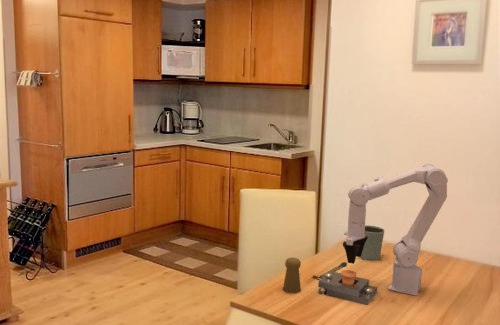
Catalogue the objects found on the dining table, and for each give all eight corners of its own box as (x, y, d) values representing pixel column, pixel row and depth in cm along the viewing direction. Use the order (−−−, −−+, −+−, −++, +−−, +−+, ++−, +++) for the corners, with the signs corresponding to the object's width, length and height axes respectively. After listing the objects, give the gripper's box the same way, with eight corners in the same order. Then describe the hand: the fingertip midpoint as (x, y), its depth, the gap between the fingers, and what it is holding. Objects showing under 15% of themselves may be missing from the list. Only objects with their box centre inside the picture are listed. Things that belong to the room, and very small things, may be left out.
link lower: (377, 292, 171) (377, 284, 170) (367, 304, 161) (368, 295, 161) (337, 283, 178) (338, 275, 177) (326, 294, 168) (326, 286, 168)
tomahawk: (326, 286, 178) (327, 283, 178) (311, 279, 182) (311, 276, 182) (357, 269, 193) (358, 266, 193) (342, 263, 198) (343, 261, 197)
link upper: (368, 290, 172) (369, 276, 172) (358, 302, 163) (359, 287, 162) (329, 281, 179) (330, 268, 178) (317, 292, 170) (318, 278, 169)
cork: (289, 284, 176) (290, 254, 174) (304, 289, 172) (305, 258, 170) (279, 289, 171) (280, 258, 169) (294, 294, 167) (295, 263, 166)
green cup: (352, 253, 209) (354, 226, 207) (373, 252, 212) (375, 224, 210) (365, 262, 199) (367, 233, 197) (387, 260, 202) (389, 231, 201)
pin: (357, 291, 171) (358, 272, 170) (352, 296, 167) (353, 276, 166) (343, 288, 174) (344, 269, 173) (337, 293, 170) (339, 273, 168)
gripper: (351, 215, 180) (349, 251, 182) (338, 224, 168) (336, 263, 170) (371, 218, 177) (368, 255, 179) (359, 228, 164) (356, 267, 166)
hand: (354, 259), depth 174 cm, fingers open, 7 cm apart
